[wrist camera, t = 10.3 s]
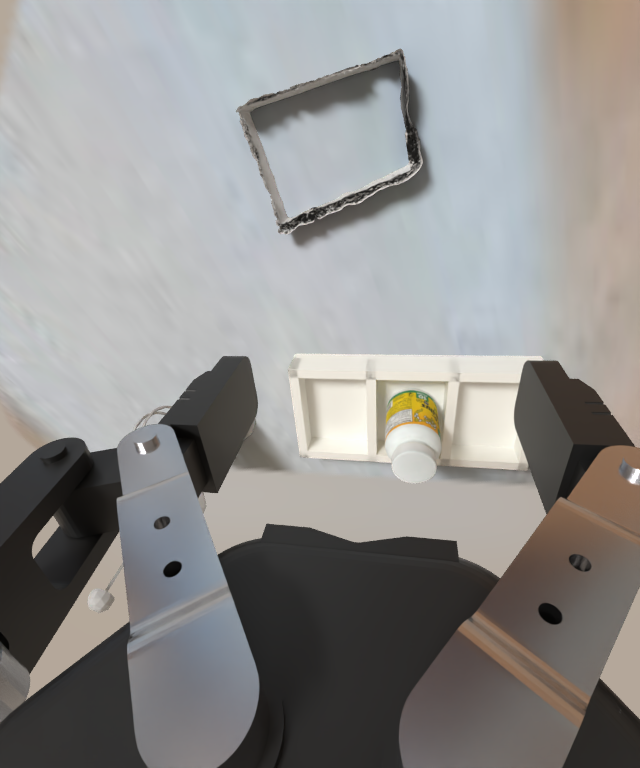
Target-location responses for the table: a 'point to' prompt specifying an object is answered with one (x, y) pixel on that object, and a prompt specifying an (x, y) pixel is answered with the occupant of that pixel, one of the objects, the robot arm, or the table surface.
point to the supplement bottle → (412, 435)
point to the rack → (396, 372)
